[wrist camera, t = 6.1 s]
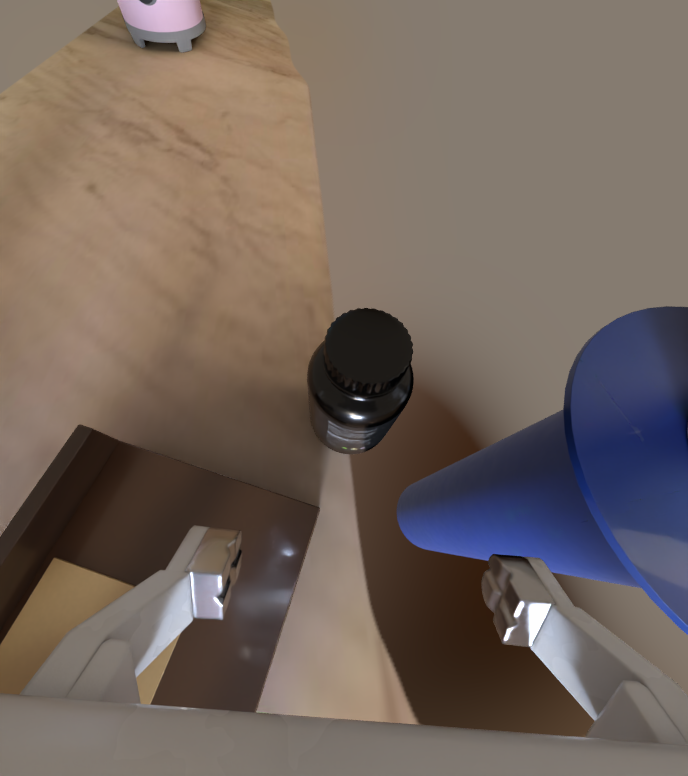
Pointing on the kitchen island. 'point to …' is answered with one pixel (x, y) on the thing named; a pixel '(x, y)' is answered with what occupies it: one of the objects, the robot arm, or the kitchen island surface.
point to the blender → (163, 21)
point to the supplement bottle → (359, 380)
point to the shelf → (147, 567)
